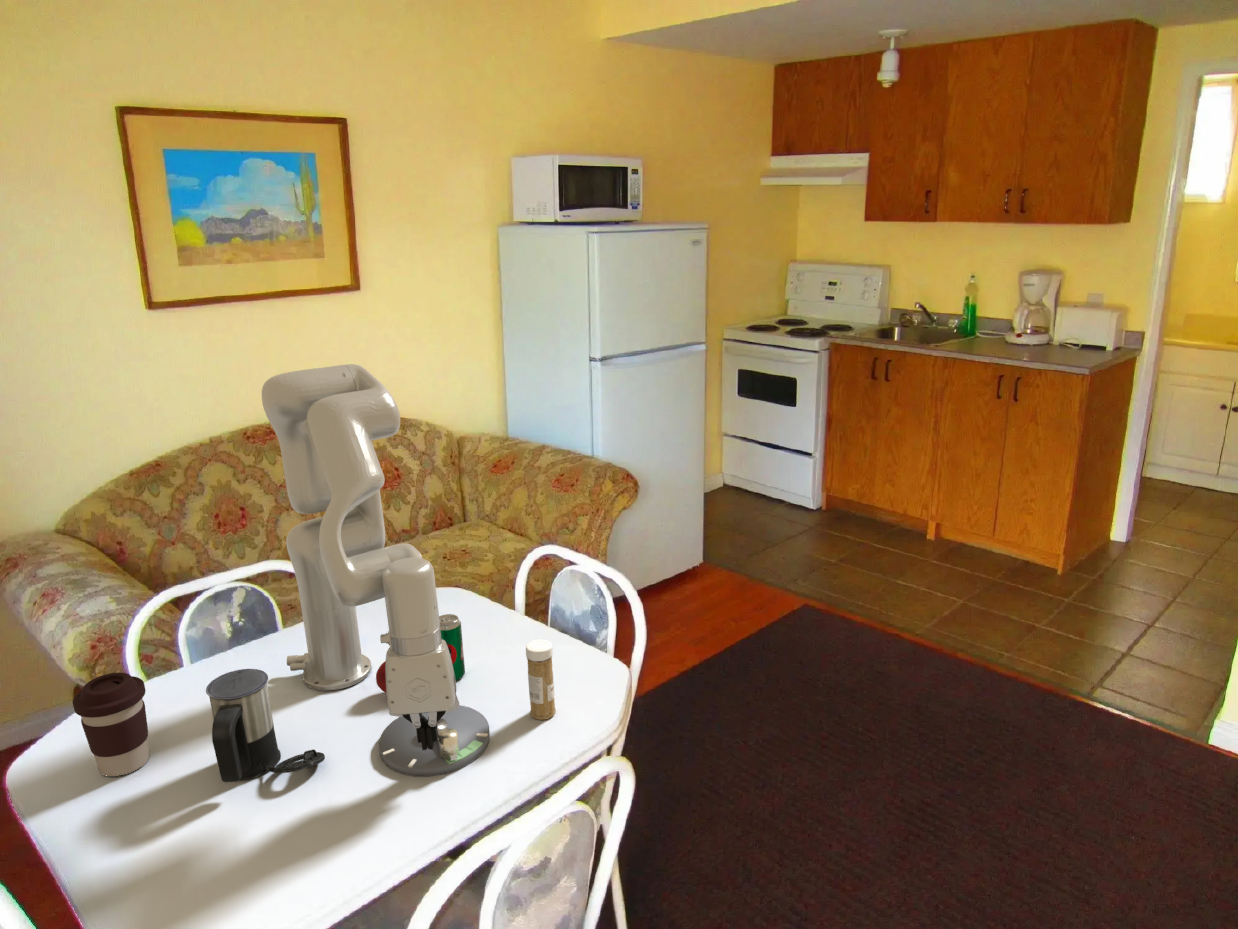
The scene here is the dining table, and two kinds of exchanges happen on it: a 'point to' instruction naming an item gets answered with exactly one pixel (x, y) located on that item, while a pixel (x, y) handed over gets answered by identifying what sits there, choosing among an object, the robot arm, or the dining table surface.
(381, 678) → the onion
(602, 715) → the dining table surface
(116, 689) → the coffee cup
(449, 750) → the needle
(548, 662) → the spice jar
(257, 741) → the milk frother
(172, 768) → the dining table surface
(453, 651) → the soda can
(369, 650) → the dining table surface
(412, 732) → the dial
